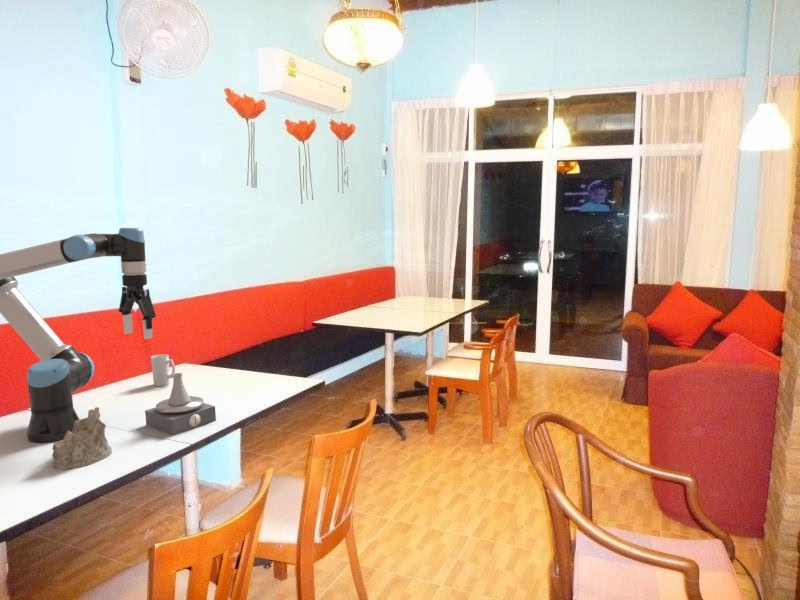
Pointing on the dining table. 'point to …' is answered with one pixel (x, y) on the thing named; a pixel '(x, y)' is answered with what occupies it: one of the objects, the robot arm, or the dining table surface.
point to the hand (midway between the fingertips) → (138, 335)
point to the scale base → (180, 419)
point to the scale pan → (179, 406)
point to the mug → (161, 369)
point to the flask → (178, 392)
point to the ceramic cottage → (82, 443)
